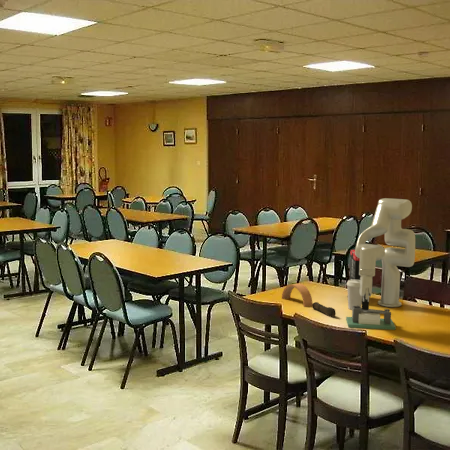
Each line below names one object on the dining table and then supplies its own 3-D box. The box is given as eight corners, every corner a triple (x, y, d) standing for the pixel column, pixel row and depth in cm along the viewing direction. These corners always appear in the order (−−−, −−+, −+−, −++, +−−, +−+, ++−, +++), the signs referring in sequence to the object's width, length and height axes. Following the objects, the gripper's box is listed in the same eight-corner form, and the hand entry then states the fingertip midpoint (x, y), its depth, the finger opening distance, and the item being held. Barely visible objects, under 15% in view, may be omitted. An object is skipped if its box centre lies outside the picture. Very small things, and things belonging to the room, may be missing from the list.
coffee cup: (363, 311, 319) (365, 283, 317) (345, 310, 321) (346, 282, 319) (363, 306, 329) (364, 279, 327) (345, 305, 331) (346, 278, 329)
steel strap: (355, 309, 298) (356, 305, 297) (388, 313, 296) (388, 308, 296) (356, 310, 295) (357, 306, 294) (389, 314, 293) (389, 310, 293)
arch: (289, 297, 347) (290, 280, 346) (312, 305, 330) (313, 287, 329) (281, 298, 344) (282, 281, 343) (304, 307, 327) (304, 288, 326)
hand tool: (311, 309, 323) (312, 300, 322) (318, 308, 324) (318, 300, 324) (330, 319, 305) (330, 310, 305) (337, 318, 307) (337, 309, 306)
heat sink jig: (346, 319, 304) (346, 303, 303) (391, 321, 301) (392, 305, 300) (348, 327, 291) (349, 310, 290) (395, 329, 289) (396, 312, 288)
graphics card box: (366, 303, 336) (368, 254, 332) (353, 303, 336) (355, 254, 332) (359, 295, 353) (361, 249, 349) (347, 295, 353) (349, 249, 349)
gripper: (357, 268, 301) (355, 305, 303) (360, 274, 286) (358, 312, 288) (373, 269, 300) (371, 306, 302) (376, 275, 285) (374, 313, 287)
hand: (365, 309), depth 295 cm, fingers closed
